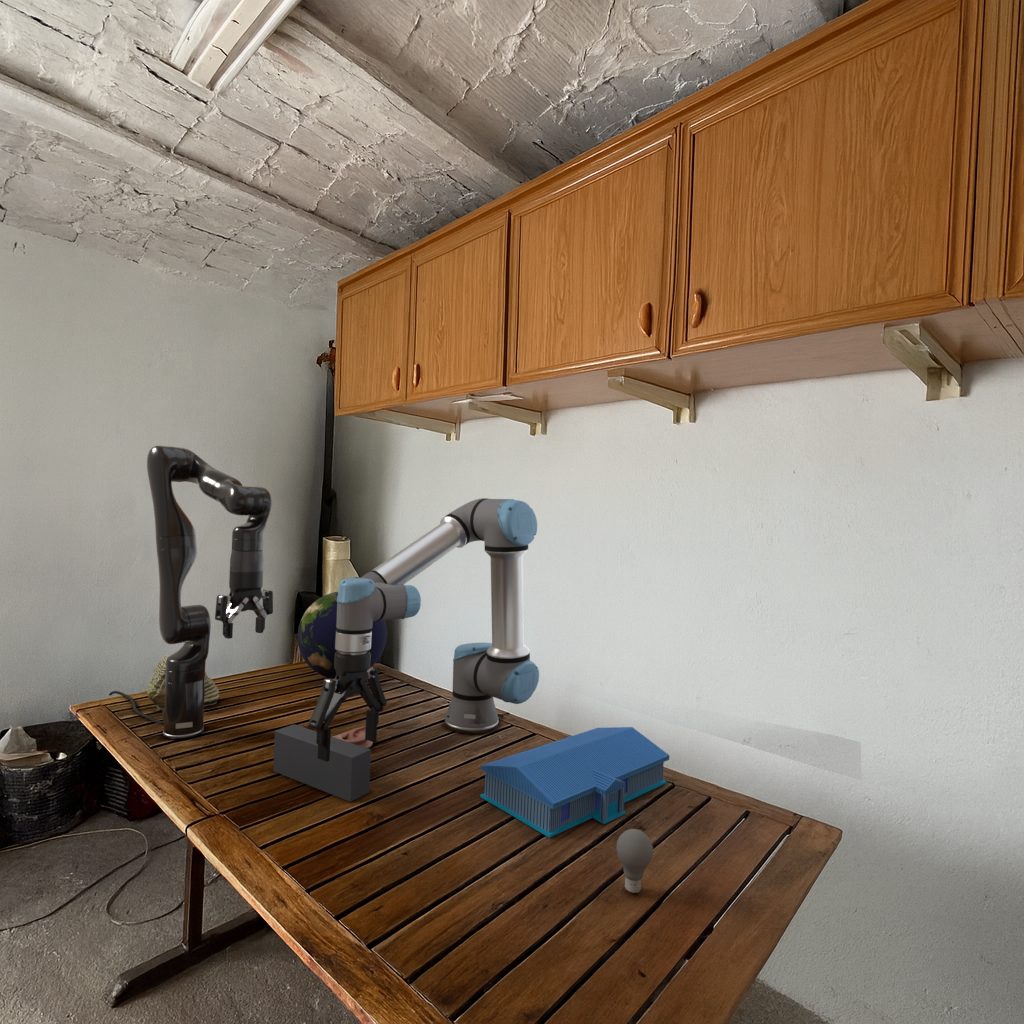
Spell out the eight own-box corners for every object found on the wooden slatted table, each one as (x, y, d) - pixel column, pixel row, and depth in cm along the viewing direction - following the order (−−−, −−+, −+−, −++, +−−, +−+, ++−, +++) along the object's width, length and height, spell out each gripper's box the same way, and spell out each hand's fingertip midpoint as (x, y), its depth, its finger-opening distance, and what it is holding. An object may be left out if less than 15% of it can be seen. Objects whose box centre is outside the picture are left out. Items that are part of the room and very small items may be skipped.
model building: (561, 845, 119) (564, 792, 119) (478, 796, 137) (480, 750, 137) (678, 787, 145) (680, 744, 145) (596, 753, 163) (598, 714, 163)
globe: (276, 681, 212) (279, 592, 211) (333, 662, 239) (336, 583, 239) (350, 695, 201) (354, 601, 200) (401, 673, 228) (404, 590, 228)
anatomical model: (310, 734, 157) (332, 718, 168) (310, 749, 157) (332, 733, 169) (360, 740, 155) (379, 724, 166) (359, 756, 155) (378, 739, 166)
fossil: (144, 707, 182) (145, 655, 182) (212, 696, 194) (213, 647, 194) (151, 716, 175) (153, 662, 175) (221, 703, 188) (223, 653, 188)
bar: (273, 771, 145) (274, 730, 145) (292, 763, 150) (294, 724, 149) (350, 802, 132) (352, 757, 132) (369, 792, 137) (371, 749, 137)
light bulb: (610, 879, 108) (613, 822, 108) (644, 879, 109) (647, 822, 109) (619, 902, 102) (622, 840, 102) (655, 901, 103) (658, 840, 103)
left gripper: (229, 572, 145) (227, 642, 146) (281, 568, 157) (278, 633, 158) (210, 569, 149) (207, 637, 150) (261, 565, 161) (259, 628, 162)
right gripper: (319, 664, 123) (314, 773, 123) (405, 644, 144) (400, 737, 145) (293, 658, 127) (288, 763, 127) (380, 639, 148) (376, 729, 148)
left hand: (244, 635), depth 154 cm, fingers open, 8 cm apart
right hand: (348, 749), depth 136 cm, fingers open, 13 cm apart
